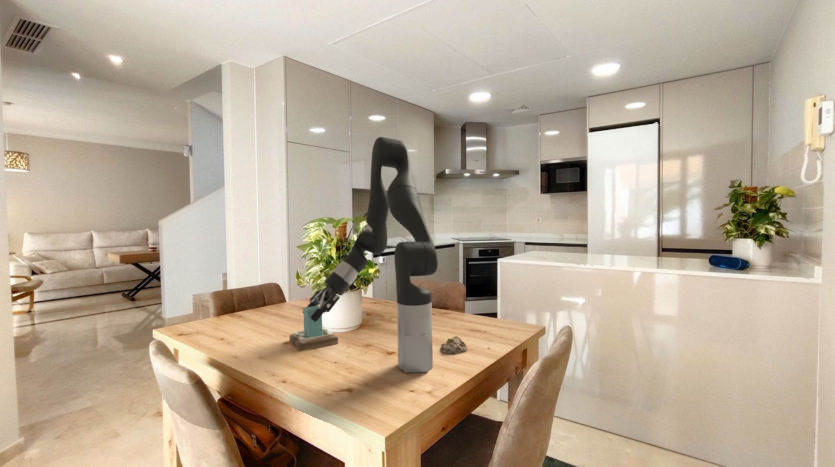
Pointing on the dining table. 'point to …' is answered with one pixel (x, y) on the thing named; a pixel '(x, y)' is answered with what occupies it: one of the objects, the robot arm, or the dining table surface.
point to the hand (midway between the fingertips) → (308, 317)
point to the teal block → (312, 323)
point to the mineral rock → (454, 346)
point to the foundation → (312, 340)
